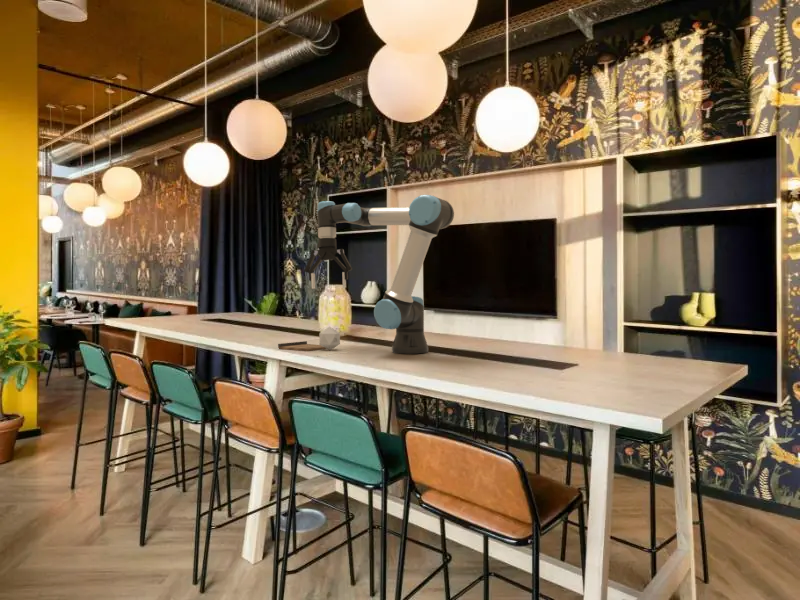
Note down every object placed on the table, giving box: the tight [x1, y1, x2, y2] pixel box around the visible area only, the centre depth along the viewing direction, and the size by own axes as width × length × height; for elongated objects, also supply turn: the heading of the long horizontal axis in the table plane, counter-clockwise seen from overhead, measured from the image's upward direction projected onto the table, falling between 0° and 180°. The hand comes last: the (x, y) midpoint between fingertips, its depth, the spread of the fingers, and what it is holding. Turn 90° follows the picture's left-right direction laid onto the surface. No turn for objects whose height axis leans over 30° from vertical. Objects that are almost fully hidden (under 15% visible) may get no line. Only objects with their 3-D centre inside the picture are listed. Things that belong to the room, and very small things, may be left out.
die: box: [318, 326, 341, 351], centre depth 226 cm, size 8×9×10 cm
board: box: [277, 340, 327, 352], centre depth 235 cm, size 18×16×2 cm
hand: (328, 288), depth 230 cm, fingers open, 13 cm apart
